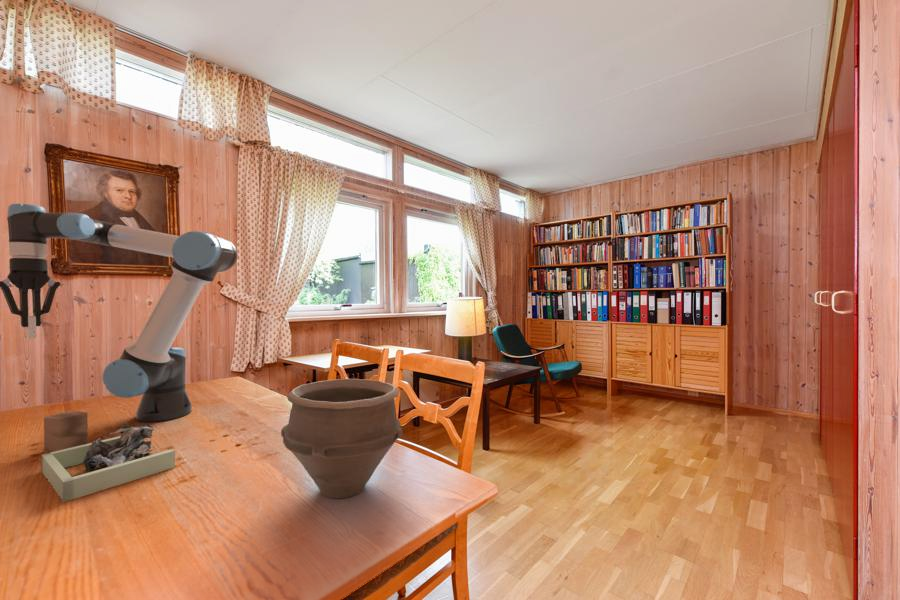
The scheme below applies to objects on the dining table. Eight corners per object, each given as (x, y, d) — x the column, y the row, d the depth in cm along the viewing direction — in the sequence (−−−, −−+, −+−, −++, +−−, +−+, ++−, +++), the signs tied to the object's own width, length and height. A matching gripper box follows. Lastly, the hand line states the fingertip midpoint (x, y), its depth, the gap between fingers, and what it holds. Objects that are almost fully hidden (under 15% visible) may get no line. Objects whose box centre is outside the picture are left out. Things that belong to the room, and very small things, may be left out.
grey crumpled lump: (64, 457, 89) (128, 408, 101) (98, 484, 95) (155, 435, 106) (85, 465, 84) (151, 412, 95) (120, 494, 89) (178, 441, 100)
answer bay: (142, 445, 104) (142, 430, 104) (174, 467, 92) (174, 450, 91) (41, 471, 89) (41, 454, 89) (63, 502, 76) (63, 482, 76)
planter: (271, 480, 86) (270, 382, 85) (371, 454, 100) (371, 369, 99) (302, 538, 65) (300, 410, 65) (422, 495, 80) (421, 389, 79)
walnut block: (72, 442, 106) (72, 410, 106) (87, 445, 104) (87, 412, 104) (44, 451, 100) (44, 417, 100) (60, 454, 98) (59, 419, 98)
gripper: (55, 259, 120) (58, 334, 121) (-9, 257, 109) (-6, 339, 110) (63, 259, 116) (66, 336, 117) (-3, 256, 105) (1, 341, 106)
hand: (31, 337), depth 114 cm, fingers closed
